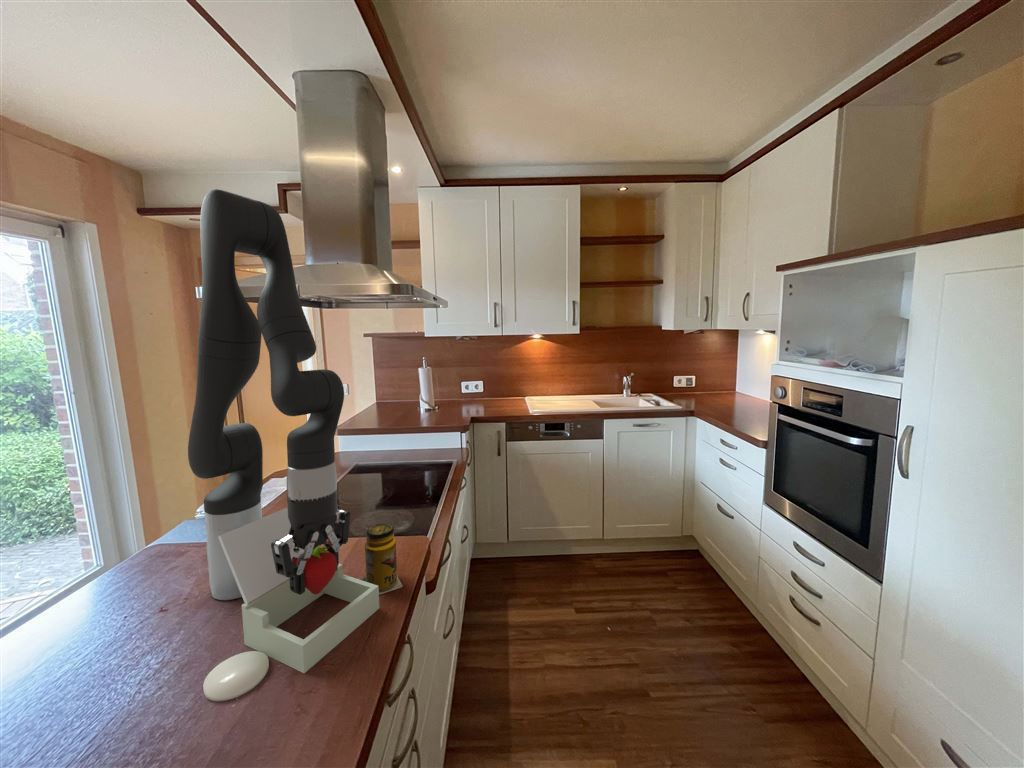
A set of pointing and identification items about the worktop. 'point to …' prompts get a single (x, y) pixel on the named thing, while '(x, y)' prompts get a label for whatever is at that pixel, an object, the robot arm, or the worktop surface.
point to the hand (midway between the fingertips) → (315, 581)
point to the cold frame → (288, 596)
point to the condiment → (381, 558)
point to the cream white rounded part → (236, 676)
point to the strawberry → (319, 569)
